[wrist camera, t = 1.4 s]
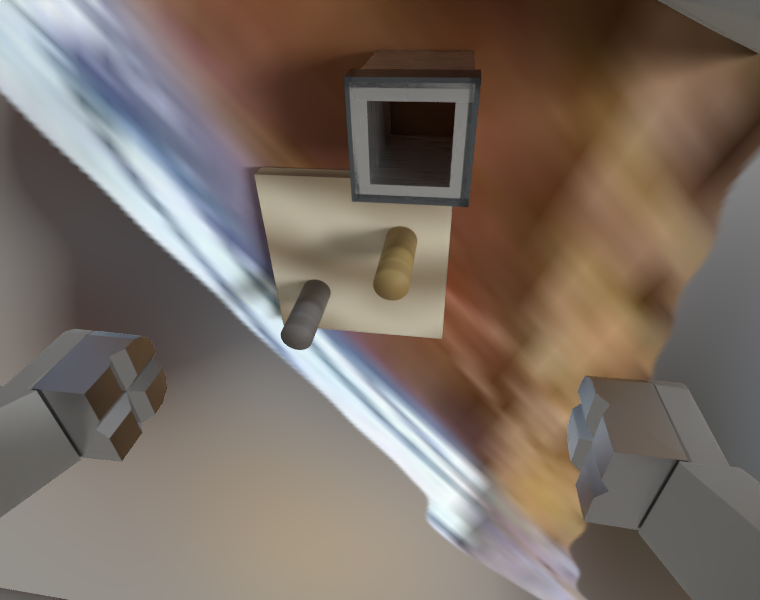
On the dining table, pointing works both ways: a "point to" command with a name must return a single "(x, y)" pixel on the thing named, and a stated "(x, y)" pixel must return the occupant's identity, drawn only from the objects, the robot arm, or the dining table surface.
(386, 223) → the pinboard
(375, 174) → the sleeve
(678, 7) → the supplement box
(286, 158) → the dining table surface
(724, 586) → the robot arm
